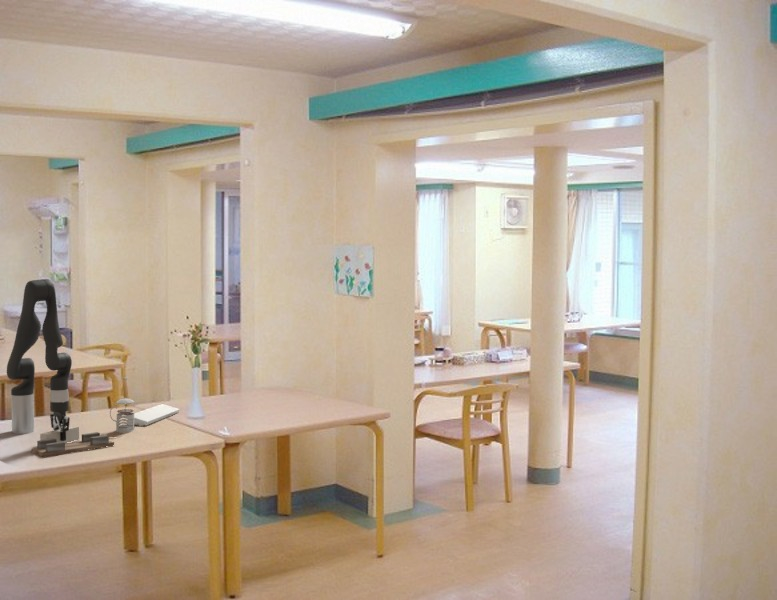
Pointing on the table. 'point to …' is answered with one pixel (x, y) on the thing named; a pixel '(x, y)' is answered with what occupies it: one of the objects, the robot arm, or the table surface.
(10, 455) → the table surface
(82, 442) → the dark brown long fixture
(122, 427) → the french press
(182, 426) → the table surface
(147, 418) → the decorative molding
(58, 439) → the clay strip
